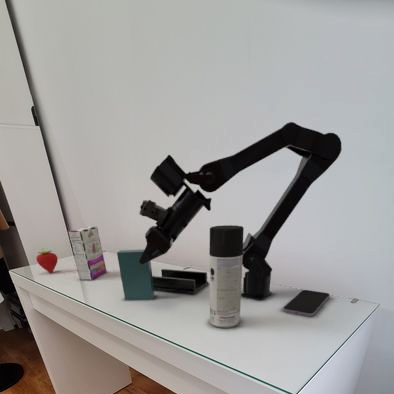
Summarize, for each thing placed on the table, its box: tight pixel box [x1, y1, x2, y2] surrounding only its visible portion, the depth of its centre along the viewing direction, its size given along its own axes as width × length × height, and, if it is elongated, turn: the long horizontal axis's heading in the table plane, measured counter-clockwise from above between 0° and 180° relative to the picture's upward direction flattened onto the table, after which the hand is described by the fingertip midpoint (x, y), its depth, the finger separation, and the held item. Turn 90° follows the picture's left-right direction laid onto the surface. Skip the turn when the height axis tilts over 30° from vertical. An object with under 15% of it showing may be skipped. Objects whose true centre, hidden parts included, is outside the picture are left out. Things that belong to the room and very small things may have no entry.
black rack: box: [152, 268, 209, 296], centre depth 88 cm, size 16×11×4 cm
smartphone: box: [282, 289, 331, 317], centre depth 72 cm, size 7×1×15 cm
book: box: [116, 249, 156, 301], centre depth 78 cm, size 3×8×13 cm, turn 87°
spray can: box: [208, 224, 245, 329], centre depth 59 cm, size 7×7×20 cm
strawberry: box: [36, 248, 58, 274], centre depth 110 cm, size 6×8×10 cm
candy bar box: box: [68, 225, 108, 281], centre depth 101 cm, size 11×5×16 cm, turn 168°
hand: (144, 259), depth 76 cm, fingers open, 9 cm apart
